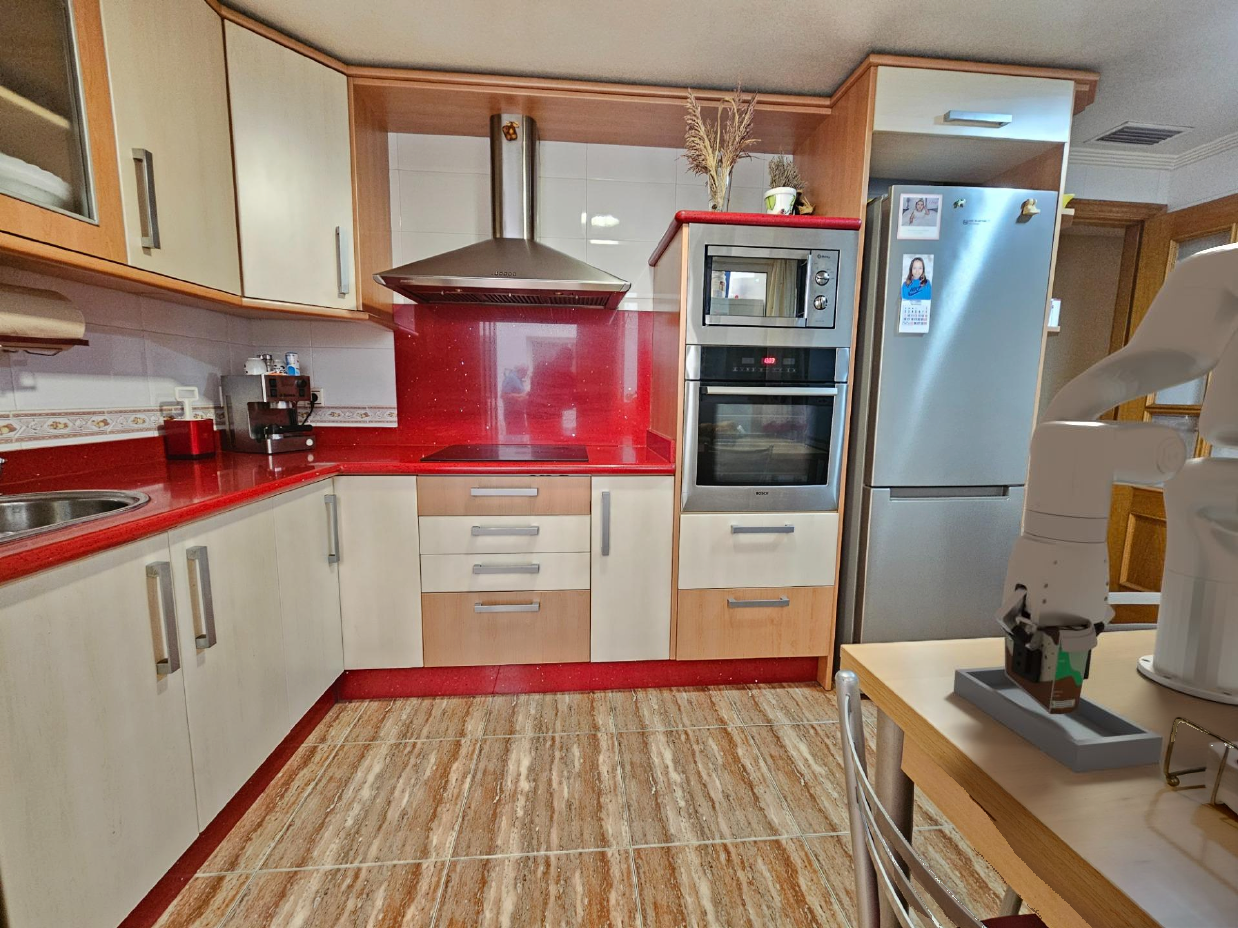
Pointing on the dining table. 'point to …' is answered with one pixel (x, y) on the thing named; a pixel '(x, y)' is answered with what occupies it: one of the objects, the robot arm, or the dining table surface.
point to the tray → (1061, 724)
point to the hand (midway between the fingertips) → (1049, 674)
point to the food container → (1057, 666)
